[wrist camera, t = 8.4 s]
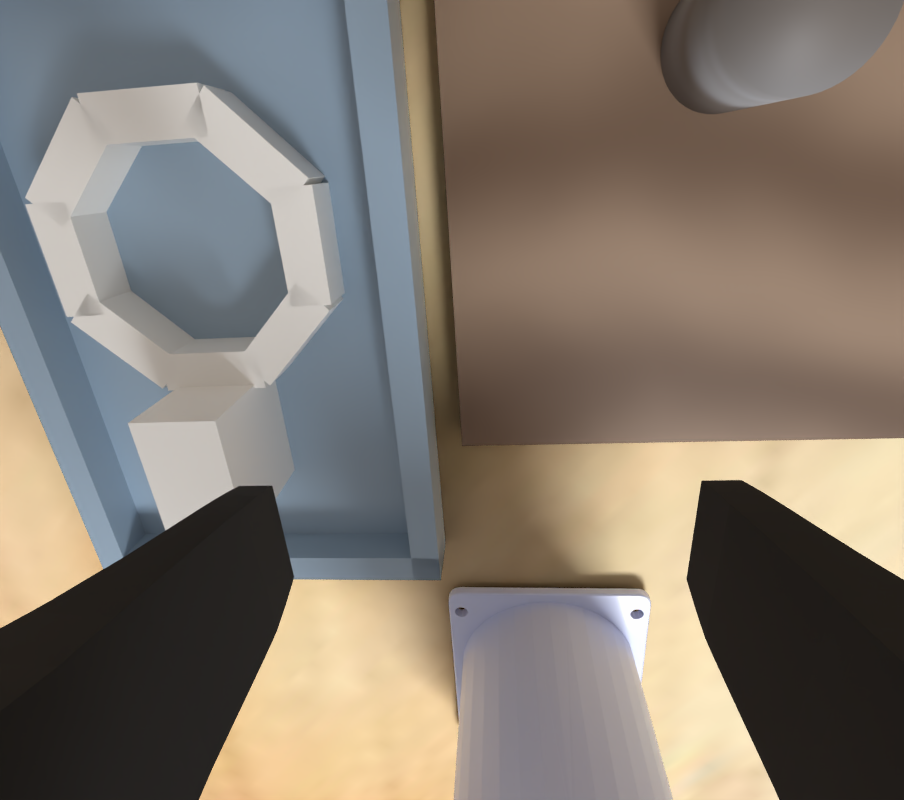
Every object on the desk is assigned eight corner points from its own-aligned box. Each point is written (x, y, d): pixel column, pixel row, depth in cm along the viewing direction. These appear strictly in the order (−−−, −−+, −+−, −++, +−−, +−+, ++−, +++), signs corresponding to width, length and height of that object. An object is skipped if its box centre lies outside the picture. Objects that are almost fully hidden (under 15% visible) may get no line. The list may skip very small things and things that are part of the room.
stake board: (884, 423, 18) (1018, 515, 13) (463, 432, 19) (453, 517, 14) (1091, -261, 11) (1504, -553, 7) (427, -174, 12) (387, -366, 8)
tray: (445, 543, 21) (440, 580, 19) (138, 543, 22) (107, 578, 20) (390, -113, 13) (372, -157, 11) (-89, -55, 14) (-175, -87, 12)
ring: (370, 468, 19) (341, 540, 16) (157, 471, 20) (82, 541, 16) (313, 81, 14) (251, 55, 11) (32, 106, 15) (-115, 89, 11)
